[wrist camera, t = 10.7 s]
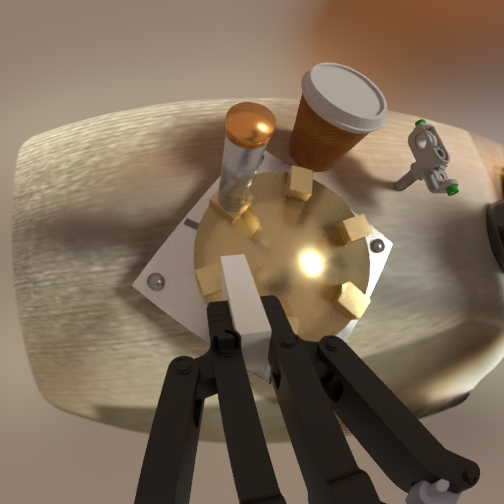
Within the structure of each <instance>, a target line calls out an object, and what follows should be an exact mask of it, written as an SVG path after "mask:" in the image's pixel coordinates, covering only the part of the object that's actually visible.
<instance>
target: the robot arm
mask: <svg viewBox="0 0 504 504" xmlns="http://www.w3.org/2000/svg"><path fill="white" fill-rule="evenodd" d="M487 227H488V233H489V238H490V242H491V245H492V248H493V251H494V254H495V256H496V259H497V261H498V263H499V264H500V266H501V267H502V269H503V270H504V201H503V200H499V201H496V202H494V203H493V204H491V205H490V206H489V207H488V210H487ZM220 261H221V285H222V295H223V300H224V301H215V302H209V304H208V306H207V308H206V310H207V320H208V329H209V337H210V344H211V345H210V349H209V350H208V352H207V353H206V354H204V355H203V356H201V357H198V358H196V359H193V358H192V357H188V356H180V357H177V358H175V359H174V360H172V361H171V363H170V364H169V367H168V370H167V374H166V377H165V380H164V384H163V387H162V391H161V395H160V398H159V402H158V406H157V409H156V413H155V417H154V420H153V424H152V428H151V432H150V436H149V440H148V444H147V448H146V452H145V456H144V461H143V465H142V469H141V474H140V478H139V483H138V487H137V492H136V497H135V502H134V504H189V499H190V492H191V485H192V478H193V472H194V465H195V458H196V451H197V445H198V438H199V432H200V425H201V419H202V413H203V407H204V401H205V398H207V397H210V396H212V395H215V394H217V393H218V399H219V405H220V411H221V417H222V422H223V428H224V433H225V438H226V444H227V448H228V454H229V458H230V463H231V468H232V473H233V477H234V482H235V486H236V491H237V495H238V499H239V503H240V504H286V501H285V499H284V497H283V496H282V494H281V492H280V490H279V487H278V483H277V480H276V477H275V473H274V470H273V466H272V463H271V460H270V456H269V453H268V449H267V445H266V442H265V438H264V435H263V431H262V427H261V424H260V420H259V416H258V413H257V409H256V405H255V401H254V397H253V394H252V390H251V386H250V382H249V378H248V374H247V370H251V369H258V368H264V367H268V362H269V365H270V368H271V369H270V376H269V384H271V382H272V383H273V386H274V389H275V393H276V396H277V399H278V402H279V405H280V408H281V412H282V415H283V418H284V421H285V424H286V427H287V430H288V433H289V436H290V439H291V442H292V446H293V449H294V452H295V455H296V457H297V461H298V463H299V467H300V470H301V472H302V476H303V479H304V481H305V484H306V487H307V490H308V502H309V504H386V503H383V502H381V501H380V499H379V497H378V495H377V493H376V490H375V488H374V486H373V483H372V481H371V479H370V477H369V475H368V474H367V473H366V472H365V471H363V470H361V469H359V467H358V466H357V464H356V461H355V459H354V457H353V455H352V452H351V450H350V448H349V445H348V443H347V441H346V438H345V436H344V434H343V432H342V429H341V427H340V425H339V422H338V420H337V418H336V416H335V413H336V414H337V415H338V417H339V418H340V419H341V420H342V422H343V423H344V424H345V425H346V427H347V428H348V429H349V430H350V432H351V433H352V434H353V435H354V436H355V438H356V439H357V440H358V441H359V443H360V444H361V445H362V446H363V447H364V449H365V450H366V451H367V452H368V454H369V455H370V456H371V457H372V458H373V460H374V461H375V462H376V463H377V464H378V466H379V467H380V468H381V469H382V470H383V472H384V473H385V474H386V475H387V476H388V477H389V479H390V480H391V481H392V482H393V483H394V484H395V485H396V486H398V487H399V488H400V489H402V490H403V491H405V492H407V493H408V496H407V497H406V503H407V504H456V503H457V500H458V498H459V496H460V494H461V492H462V491H465V490H467V489H469V488H471V487H473V486H474V485H475V484H476V483H477V481H478V479H479V476H480V469H479V467H478V465H477V464H476V463H475V462H473V461H471V460H468V459H466V458H464V457H461V456H459V455H457V454H455V453H453V452H451V451H448V450H447V449H445V448H444V447H443V446H442V445H441V444H440V443H439V442H438V441H437V439H436V438H435V437H434V436H433V435H432V434H431V433H430V432H429V431H428V430H427V429H426V428H425V427H424V426H423V425H422V423H421V422H420V421H419V420H418V419H417V418H416V417H415V416H414V415H413V414H412V413H411V412H410V411H409V410H408V408H407V407H406V406H405V405H404V404H403V403H402V402H401V401H400V400H399V399H398V398H397V397H396V396H395V395H394V394H393V392H392V391H391V390H390V389H389V388H388V387H387V386H386V385H385V384H384V383H383V382H382V381H381V380H380V379H379V378H378V377H377V376H376V374H375V373H374V372H373V371H372V370H371V369H370V368H369V367H368V366H367V365H366V364H365V363H364V362H363V361H362V360H361V359H360V358H359V356H358V355H357V354H356V353H355V352H354V351H353V350H352V349H351V348H350V347H349V346H348V345H347V344H346V343H345V342H344V341H343V340H342V339H341V338H340V337H337V336H334V335H327V336H324V337H323V338H321V339H320V341H319V342H314V341H306V340H303V339H301V338H300V337H299V336H298V335H297V334H295V333H294V332H293V330H292V327H291V325H290V323H289V321H288V318H287V316H286V314H285V311H284V309H283V308H282V305H281V302H280V300H279V299H278V298H276V297H275V296H274V295H267V296H259V294H258V291H257V288H256V285H255V282H254V280H253V277H252V274H251V271H250V268H249V266H248V263H247V260H246V257H245V254H242V255H229V256H220ZM333 410H334V411H335V413H334V411H333Z"/></svg>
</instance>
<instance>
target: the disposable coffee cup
mask: <svg viewBox="0 0 504 504" xmlns="http://www.w3.org/2000/svg"><path fill="white" fill-rule="evenodd" d="M386 112H387V103H386V100H385V98H384V96H383V94H382V93H381V91H380V90H379V88H378V87H377V86H376V85H375V84H374V83H373V82H372V81H371V80H369V79H368V78H367V77H365V76H364V75H363V74H361V73H359V72H357V71H355V70H354V69H352V68H350V67H347V66H344V65H340V64H337V63H320V64H317V65H316V66H314V67H313V68H312V69H311V70H310V71H308V72H306V74H305V75H304V76H303V78H302V96H301V100H300V104H299V108H298V112H297V117H296V121H295V125H294V129H293V132H292V137H291V141H290V145H289V149H290V153H291V155H292V157H293V158H294V160H295V161H296V162H297V163H298V164H299V165H301V166H302V167H304V168H306V169H309V170H313V171H316V172H322V171H326V170H328V169H329V168H330V167H331V166H333V165H334V164H335V163H336V162H337V161H338V160H339V159H340V158H341V157H343V156H344V155H345V154H346V153H347V152H348V151H349V150H350V149H352V148H353V147H354V146H355V145H356V144H357V143H358V142H359V141H361V140H362V139H363V138H364V137H365V136H366V135H367V134H368V133H370V132H373V131H375V130H378V129H379V128H380V127H382V126H383V124H384V122H385V116H386Z"/></svg>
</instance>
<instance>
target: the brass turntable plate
mask: <svg viewBox="0 0 504 504" xmlns="http://www.w3.org/2000/svg"><path fill="white" fill-rule="evenodd" d="M275 126H276V119H275V116H274V114H273V113H272V112H271V111H270V110H269V109H268V108H266V107H265V106H263V105H260V104H257V103H252V102H243V103H239V104H236V105H234V106H232V107H231V108H230V109H229V110H228V112H227V115H226V122H225V134H226V136H225V144H224V151H223V159H222V167H221V175H220V184H219V189H218V190H217V191H216V192H215V193H214V194H213V195H212V196H211V197H210V198H209V207H208V208H207V210H206V211H205V213H204V215H203V217H202V219H201V221H200V224H199V226H198V229H197V233H196V237H195V242H194V268H195V273H196V279H197V283H198V287H199V290H200V293H201V295H202V297H203V299H204V301H205V303H206V305H207V306H208V304H209V302H215V301H224V300H223V295H222V285H221V261H220V256H229V255H242V254H245V257H246V260H247V263H248V266H249V268H250V271H251V274H252V277H253V280H254V282H255V285H256V288H257V291H258V294H259V296H267V295H274V296H275V297H276V298H278V299H279V300H280V302H281V305H282V308H283V309H284V311H285V314H286V316H287V318H288V321H289V323H290V325H291V327H292V330H293V332H294V333H295V334H297V335H298V336H299V337H300V338H301V339H303V340H306V341H314V342H319V341H320V339H321V338H323V337H324V336H327V335H334V336H335V335H337V334H338V333H339V332H340V331H342V330H343V329H344V328H345V327H346V326H347V325H348V324H349V323H350V321H351V320H358V319H360V318H361V316H362V314H363V313H364V311H365V309H366V308H367V306H368V304H369V303H370V301H371V300H370V299H369V298H368V297H366V296H365V295H366V292H367V289H368V284H369V278H370V255H369V249H368V244H367V241H366V237H368V236H369V235H371V234H372V233H373V232H372V230H371V228H370V226H369V223H368V221H367V219H366V217H365V215H364V214H361V215H358V216H355V215H354V213H353V212H352V211H351V209H350V208H349V207H348V206H347V204H346V203H345V202H344V201H343V200H342V199H341V198H340V197H339V196H338V195H336V194H335V193H334V192H333V191H331V190H330V189H329V188H327V187H326V186H324V185H322V184H321V183H319V182H317V181H315V180H313V170H309V169H306V168H302V167H298V166H294V165H292V167H291V169H290V171H289V172H288V173H287V172H265V173H259V174H257V172H258V169H259V166H260V163H261V160H262V157H263V154H264V151H265V149H266V146H267V143H268V142H269V141H270V140H271V137H272V134H273V132H274V129H275Z"/></svg>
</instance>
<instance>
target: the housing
mask: <svg viewBox="0 0 504 504" xmlns="http://www.w3.org/2000/svg"><path fill="white" fill-rule="evenodd" d="M290 169H291V166H289V165H288V164H286V163H285V162H283V161H281V160H280V159H278V158H277V157H275V156H274V155H272V154H271V153H269V152H268V151H266V150H265V151H264V154H263V157H262V160H261V163H260V166H259V169H258V172H257V174H259V173H265V172H287V173H288V172H289V171H290ZM219 184H220V177H219V178H218V179H217V180H216V181H215V183H214V184H213V185H212V186H211V187H210V188H209V189H208V191H207V192H206V193H205V194H204V195H203V196H202V197H201V199H200V200H199V201H198V202H197V203H196V204H195V206H194V207H193V208H192V209H191V210H190V212H189V213H188V214H187V215H186V216H185V218H184V219H183V220H182V221H181V222H180V224H179V225H178V226H177V227H176V228H175V230H174V231H173V232H172V233H171V235H170V236H169V237H168V238H167V240H166V241H165V242H164V243H163V245H162V246H161V247H160V249H159V250H158V251H157V252H156V254H155V255H154V256H153V258H152V259H151V260H150V261H149V263H148V264H147V265H146V267H145V268H144V269H143V271H142V272H141V273H140V275H139V276H138V277H137V279H136V280H135V281H134V283H133V284H132V286H133V287H134V288H135V289H136V290H138V291H139V292H140V293H141V294H142V295H144V296H145V297H146V298H147V299H149V300H150V301H151V302H152V303H154V304H155V305H156V306H158V307H159V308H160V309H161V310H163V311H164V312H165V313H167V314H168V315H169V316H171V317H172V318H173V319H175V320H176V321H177V322H179V323H180V324H181V325H183V326H184V327H185V328H187V329H188V330H190V331H191V332H192V333H194V334H195V335H197V336H198V337H199V338H201V339H202V340H204V341H205V342H207V343H208V344H210V337H209V329H208V320H207V310H206V308H207V305H206V303H205V301H204V299H203V297H202V295H201V293H200V290H199V287H198V283H197V279H196V273H195V268H194V242H195V237H196V233H197V229H198V226H199V224H200V221H201V219H202V217H203V215H204V213H205V211H206V210H207V208H208V207H209V198H210V197H211V196H212V195H213V194H214V193H215V192H216V191H217V190H218V189H219ZM351 211H352V210H351ZM352 212H353V211H352ZM353 213H354V212H353ZM354 215H355V216H358V215H357V214H356V213H354ZM369 226H370V228H371V230H372V232H373V233H372V234H371V235H369V236H368V237H366V241H367V244H368V249H369V255H370V278H369V284H368V289H367V292H366V295H365V296H366V297H368V298H369V297H370V295H371V293H372V290H373V288H374V286H375V284H376V282H377V280H378V277H379V275H380V273H381V271H382V268H383V266H384V264H385V261H386V259H387V256H388V254H389V252H390V249H391V247H392V244H393V243H391V242H390V241H389V240H388V239H387V238H386V237H384V236H383V235H382V234H381V233H380V232H378V231H377V230H376V229H375V228H373V227H372V226H371V225H370V224H369ZM357 321H358V320H351V321H350V323H349V324H348V325H347V326H346V327H345V328H344V329H343V330H342V331H340V332H339V333H338V334H337V335H335V336H337V337H340V338H341V339H342V340H343V341H344V342H345V343H346V341H347V340H348V338H349V336H350V334H351V332H352V330H353V328H354V327H355V325H356V323H357ZM210 345H211V344H210ZM270 369H271V368H270V365H269V362H268V367H264V368H258V369H251V370H249V371H251V372H253V373H254V374H256V375H258V376H259V377H261V378H263V379H264V380H266V381H268V382H269V376H270ZM271 384H273V383H272V382H271Z"/></svg>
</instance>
